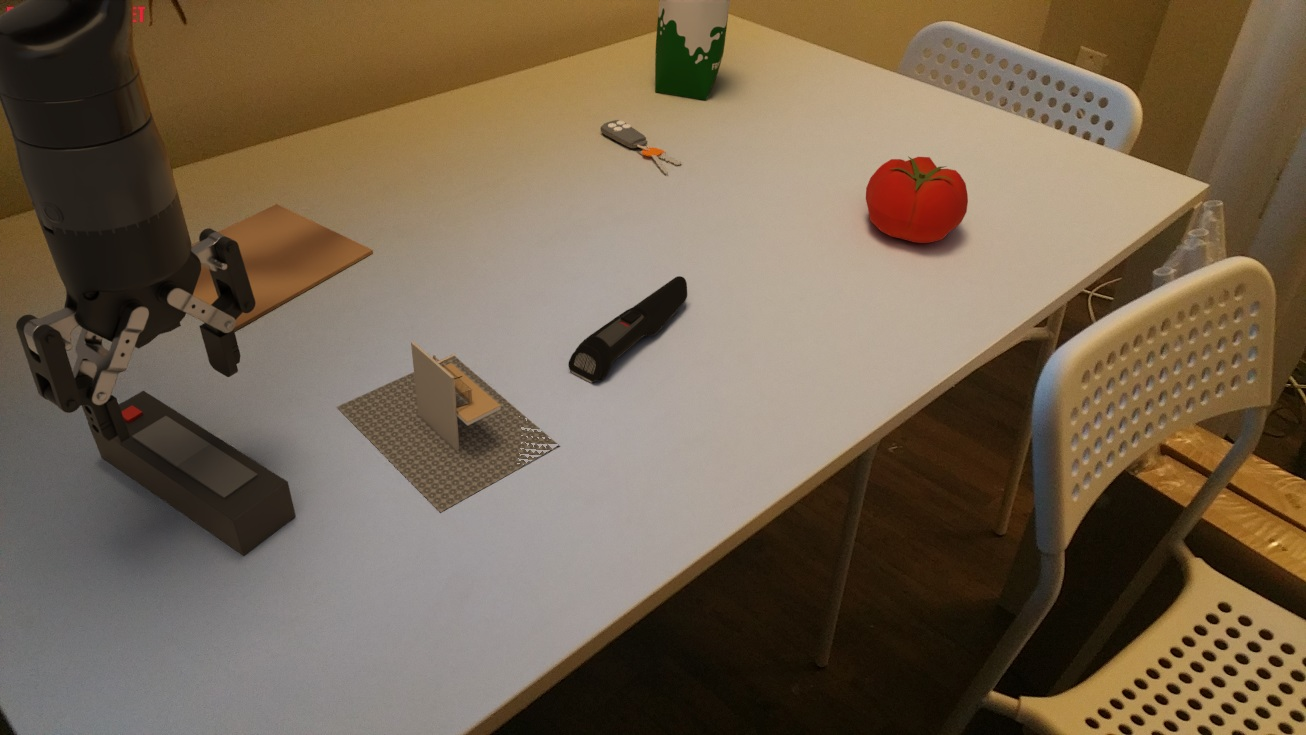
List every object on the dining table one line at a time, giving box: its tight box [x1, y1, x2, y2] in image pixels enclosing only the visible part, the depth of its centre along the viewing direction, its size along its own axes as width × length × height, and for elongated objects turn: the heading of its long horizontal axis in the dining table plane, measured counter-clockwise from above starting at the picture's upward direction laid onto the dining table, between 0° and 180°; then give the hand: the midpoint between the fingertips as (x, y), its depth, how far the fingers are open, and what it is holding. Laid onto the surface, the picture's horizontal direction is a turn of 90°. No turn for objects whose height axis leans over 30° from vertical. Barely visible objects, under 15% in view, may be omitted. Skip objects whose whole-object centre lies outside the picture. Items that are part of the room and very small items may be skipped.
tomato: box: [865, 156, 969, 244], centre depth 108 cm, size 11×11×8 cm
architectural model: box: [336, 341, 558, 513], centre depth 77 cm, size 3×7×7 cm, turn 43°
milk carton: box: [654, 0, 731, 101], centre depth 129 cm, size 9×9×20 cm
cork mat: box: [191, 203, 374, 332], centre depth 95 cm, size 14×17×1 cm
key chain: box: [600, 119, 683, 175], centre depth 120 cm, size 13×4×2 cm, turn 41°
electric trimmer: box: [568, 275, 688, 384], centre depth 90 cm, size 4×16×3 cm, turn 145°
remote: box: [87, 390, 297, 556], centre depth 72 cm, size 16×5×4 cm, turn 57°
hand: (172, 402), depth 68 cm, fingers open, 8 cm apart
